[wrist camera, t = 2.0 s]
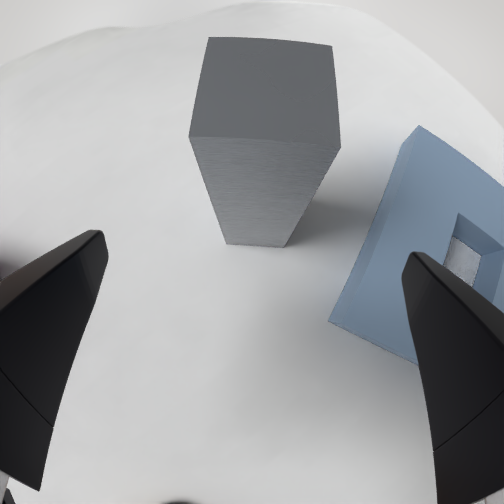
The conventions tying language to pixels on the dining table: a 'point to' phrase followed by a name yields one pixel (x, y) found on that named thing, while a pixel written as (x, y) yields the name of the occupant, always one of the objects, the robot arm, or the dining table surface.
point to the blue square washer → (422, 238)
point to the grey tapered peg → (264, 133)
